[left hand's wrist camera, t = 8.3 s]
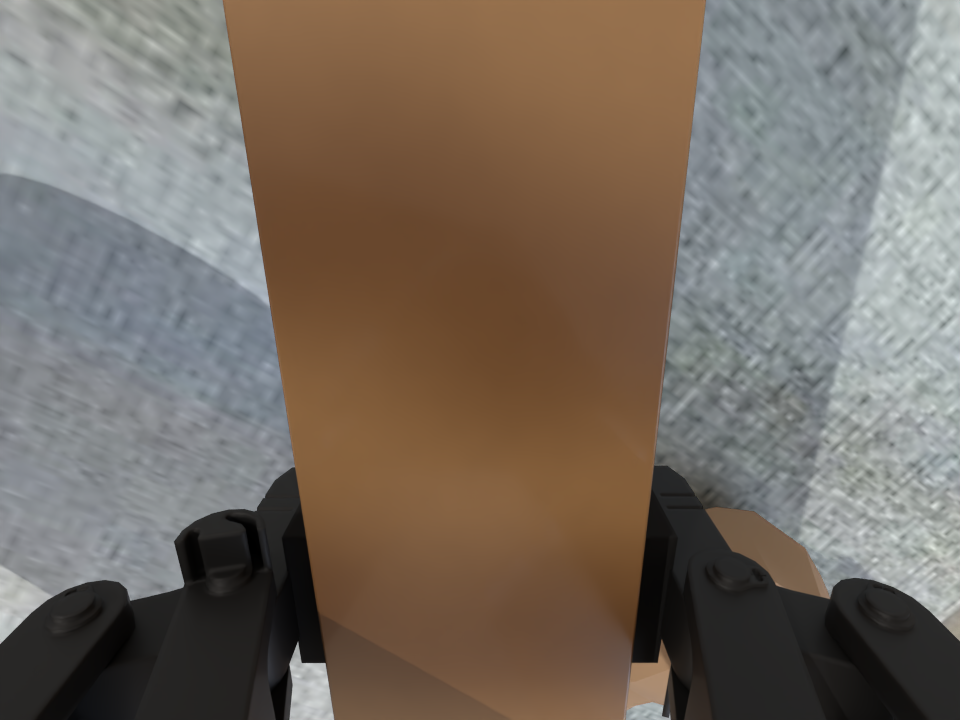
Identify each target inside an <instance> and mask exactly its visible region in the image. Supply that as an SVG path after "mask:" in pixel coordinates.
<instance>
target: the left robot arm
mask: <svg viewBox="0 0 960 720" xmlns="http://www.w3.org/2000/svg"><path fill="white" fill-rule="evenodd" d="M174 543H175V547H176V551H177V555H178V559H179V563H180V567H181V571H182V575H183V579H184V583H185V585H184V587H183V588H181V589H177V590H174V591H171V592H167V593H163V594H158V595H154V596H150V597H146V598H141V599H137V600H133V601H130V599H129V595H128V592H127V589H126V588H125V587H124V586H122V585H121V584H120V583H119V582H113V581H107V580H102V581H95V582H87V583H84V584H81V585H78V586H75V587H73V588H70V589H67V590H65V591H63V592H61V593H60V594H58V595H56V596H54V597H52V598H50V599H49V600H47V601H46V602H45V603H43V604H42V605H41V606H40V607H38V608H37V609H36V610H35V611H33V612H32V613H31V614H30V615H29V616H28V617H27V618H26V619H25V620H24V621H23V622H22V623H21V624H20V625H19V626H18V627H17V628H16V629H15V630H14V631H13V632H12V633H11V634H10V635H9V636H8V637H7V638H6V639H5V640H4V641H3V642H2V643H1V644H0V720H289V718H290V707H291V696H292V678H291V671H290V666H289V663H290V661H291V658H292V655H293V653H294V650H295V648H296V645H297V642H298V643H299V649H300V655H301V661H302V663H326V662H325V656H324V649H323V643H322V636H321V630H320V624H319V617H318V611H317V604H316V598H315V591H314V585H313V578H312V572H311V566H310V559H309V553H308V546H307V540H306V533H305V527H304V520H303V514H302V508H301V501H300V495H299V488H298V482H297V475H296V469H295V468H291V469H290V470H288V471H287V472H286V473H284V474H283V475H282V476H280V477H279V478H278V479H276V480H275V481H274V483H273V484H272V486H271V487H270V489H269V490H268V492H267V493H266V495H265V498H263V500H262V501H261V503H260V504H259V506H258V507H257V511H255V512H253V511H249V510H246V509H235V510H225V511H221V512H217V513H213V514H210V515H208V516H206V517H203V518H201V519H199V520H197V521H195V522H194V523H192V524H191V525H189V526H188V527H187V528H185V529H184V530H183V531H182V532H181V533H180V535H179V536H178V537H177V539H176V540H175V541H174ZM661 640H662V641H663V644H664V646H665V649H666V651H667V654H668V657H669V659H670V662H671V666H670V671H669V677H668V683H667V689H666V695H665V700H664V706H663V713H662V716H664V717H668V718H669V714H670V716H671V720H960V641H959V640H958V639H957V638H956V637H955V636H954V635H953V634H952V633H951V632H950V631H949V630H948V629H947V628H946V627H945V626H944V625H943V624H942V623H941V622H940V621H939V620H938V619H937V618H936V617H935V616H934V615H933V614H932V613H931V612H930V611H929V610H927V609H926V608H925V607H924V606H922V605H921V604H920V603H919V602H917V601H916V600H915V599H914V598H912V597H910V596H909V595H907V594H905V593H903V592H901V591H899V590H897V589H896V588H894V587H891V586H888V585H886V584H882V583H880V582H877V581H874V580H867V579H860V578H851V579H845V580H841V581H840V582H839V583H837V584H836V585H835V586H834V587H833V590H832V594H831V597H830V599H828V598H824V597H819V596H815V595H811V594H806V593H802V592H798V591H793V590H790V589H786V588H783V587H780V586H777V585H776V584H775V582H774V580H773V579H772V577H771V576H770V574H769V573H768V571H766V570H765V569H764V568H763V567H762V566H760V565H759V564H758V563H757V562H756V561H754V560H752V559H750V558H748V557H746V556H744V555H742V554H740V553H736V552H733V551H732V550H731V549H730V547H729V546H728V544H727V543H726V541H725V539H724V538H723V536H722V535H721V533H720V532H719V530H718V529H717V527H716V526H715V524H714V523H713V521H712V520H711V518H710V517H709V515H708V513H707V512H706V510H705V509H703V506H702V504H701V503H700V501H699V500H698V498H697V497H695V495H694V492H693V491H692V489H691V488H690V486H689V484H688V483H687V481H686V480H685V479H684V478H683V477H682V476H680V475H679V474H678V473H676V472H675V471H673V470H672V469H671V468H669V467H668V466H654V469H653V478H652V487H651V496H650V505H649V514H648V523H647V532H646V541H645V549H644V558H643V567H642V576H641V585H640V594H639V603H638V612H637V621H636V630H635V639H634V648H633V657H632V663H658V659H659V652H660V646H661Z"/></svg>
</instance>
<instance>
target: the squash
mask: <svg viewBox="0 0 960 720" xmlns="http://www.w3.org/2000/svg"><path fill="white" fill-rule="evenodd" d="M705 510H706V512H707V513H708V515H709V517H710V518H711V520H712V521H713V523H714V524H715V526H716V527H717V529H718V530H719V532H720V533H721V535H722V536H723V538H724V539H725V541H726V543H727V544H728V546H729V547H730V549H731V550H732V551H733V552H736V553H740V554H742V555H744V556H746V557H748V558H750V559H752V560H754V561H756V562H757V563H758V564H759V565H760V566H762V567H763V568H764V569H765V570H766V571H768V573H769V574H770V576H771V577H772V579H773V580H774V582H775V584H776V585H777V586H780V587H783V588H786V589H790V590H793V591H798V592H802V593H806V594H811V595H815V596H819V597H824V598H828V599H830V596H829V594H828V591H827V589H826V587H825V584H824V582H823V580H822V577H821V575H820V573H819V572H818V570H817V568H816V566H815V565H814V563H813V561H812V559H811V558H810V556H809V554H808V552H807V551H806V549H805V548H804V547H803V546H801V545H800V544H799V543H797V542H796V541H794V540H793V539H792V538H790V537H789V536H787V535H786V534H785V533H783V532H782V531H780V530H779V529H778V528H776V527H775V526H774V525H772V524H771V523H769V522H768V521H767V520H765V519H764V518H762V517H761V516H760V515H758V514H757V513H755V512H754V511H746V510H738V509H729V508H721V507H713V508H709V509H705ZM670 666H671V662H670V659H669V657H668V654H667V651H666V649H665V646H664V644H663V641H662V640H661V646H660V652H659V659H658V663H632V665H631V674H630V683H629V692H628V701H627V710H628V709H630V708H632V707H634V706H636V705H641V704H645V703H650V702H655V703H658V704H661V705H664V700H665V695H666V689H667V683H668V677H669V671H670Z"/></svg>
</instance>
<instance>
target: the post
mask: <svg viewBox="0 0 960 720" xmlns="http://www.w3.org/2000/svg"><path fill="white" fill-rule="evenodd" d="M223 5H224V12H225V18H226V25H227V31H228V37H229V44H230V50H231V57H232V63H233V70H234V76H235V83H236V89H237V95H238V102H239V108H240V115H241V121H242V128H243V134H244V141H245V147H246V153H247V160H248V166H249V173H250V179H251V186H252V192H253V198H254V205H255V211H256V218H257V224H258V231H259V237H260V244H261V250H262V256H263V263H264V269H265V276H266V282H267V289H268V295H269V302H270V308H271V314H272V321H273V327H274V334H275V340H276V347H277V353H278V359H279V366H280V372H281V379H282V385H283V392H284V398H285V405H286V411H287V417H288V424H289V430H290V437H291V443H292V450H293V456H294V463H295V469H296V475H297V482H298V488H299V495H300V501H301V508H302V514H303V520H304V527H305V533H306V540H307V546H308V553H309V559H310V566H311V572H312V578H313V585H314V591H315V598H316V604H317V611H318V617H319V624H320V630H321V636H322V643H323V649H324V656H325V662H326V669H327V675H328V681H329V688H330V694H331V701H332V707H333V714H334V720H625V719H626V710H627V701H628V692H629V683H630V674H631V665H632V657H633V648H634V639H635V630H636V621H637V612H638V603H639V594H640V585H641V576H642V567H643V558H644V549H645V541H646V532H647V523H648V514H649V505H650V496H651V487H652V478H653V469H654V460H655V451H656V442H657V433H658V425H659V416H660V407H661V398H662V389H663V380H664V371H665V362H666V353H667V344H668V335H669V326H670V317H671V309H672V300H673V291H674V282H675V273H676V264H677V255H678V246H679V237H680V228H681V219H682V210H683V201H684V193H685V184H686V175H687V166H688V157H689V148H690V139H691V130H692V121H693V112H694V103H695V94H696V85H697V77H698V68H699V59H700V50H701V41H702V32H703V23H704V14H705V5H706V0H223Z"/></svg>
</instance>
